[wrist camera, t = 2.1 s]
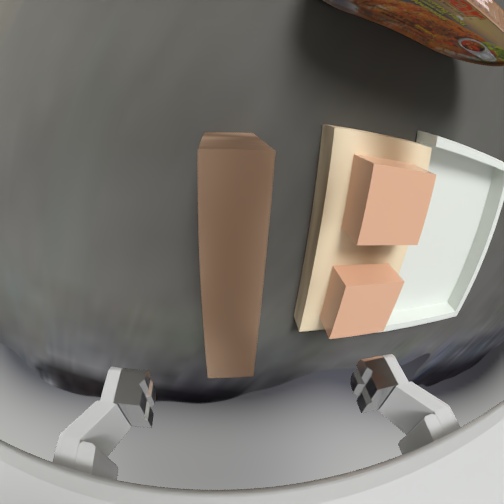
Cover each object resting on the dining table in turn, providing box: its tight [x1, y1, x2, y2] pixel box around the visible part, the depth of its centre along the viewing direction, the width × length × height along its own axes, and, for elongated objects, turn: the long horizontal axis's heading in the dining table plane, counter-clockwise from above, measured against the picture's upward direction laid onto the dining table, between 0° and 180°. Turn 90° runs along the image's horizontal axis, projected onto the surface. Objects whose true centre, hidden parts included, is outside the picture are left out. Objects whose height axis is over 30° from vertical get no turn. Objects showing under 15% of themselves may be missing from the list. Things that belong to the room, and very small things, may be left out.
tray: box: [381, 130, 504, 332], centre depth 21 cm, size 12×18×2 cm, turn 177°
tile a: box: [341, 154, 436, 245], centre depth 16 cm, size 5×5×2 cm
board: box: [294, 124, 432, 332], centre depth 20 cm, size 8×16×2 cm, turn 177°
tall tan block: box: [198, 132, 275, 378], centre depth 17 cm, size 3×14×7 cm, turn 176°
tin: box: [323, 0, 504, 66], centre depth 9 cm, size 15×3×8 cm, turn 84°
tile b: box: [320, 263, 404, 339], centre depth 20 cm, size 5×5×2 cm
